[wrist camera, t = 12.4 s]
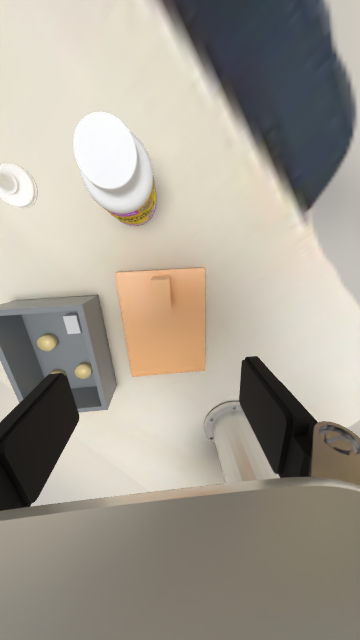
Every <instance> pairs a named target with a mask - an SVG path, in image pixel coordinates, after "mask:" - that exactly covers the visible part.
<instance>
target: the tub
mask: <svg viewBox="0 0 360 640" xmlns="http://www.w3.org/2000/svg"><path fill="white" fill-rule="evenodd" d="M0 361H1V363H2V365H3V367H4V370H5V372H6V374H7V376H8V378H9V381H10V383H11V385H12V387H13V390H14V392H15V394H16V396H17V398H18V401H19V403H20V402H21V401H22V400H23V399H24V398H25V397H26V396H27V395H28V394H29V393H30V392H31V391H32V390H33V389H34V388H35V387H36V386H37V385H38V384H39V383H40V382H41V381H42V380H43V379H44V378H45V377H46V376H47V375H49V374H54V373H63V374H64V375H66V376H67V378H68V381H69V384H70V387H71V390H72V394H73V397H74V400H75V403H76V406H77V410H78V412H88V411H99V410H108V407H109V405H110V402H111V399H112V397H113V394H114V391H115V389H116V386H117V384H116V379H115V374H114V369H113V364H112V360H111V355H110V350H109V345H108V340H107V336H106V331H105V326H104V321H103V316H102V312H101V307H100V302H99V297H98V295H90V296H75V297H60V298H44V299H29V300H15V301H11V302H8V303H5V304H1V305H0Z"/></svg>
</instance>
